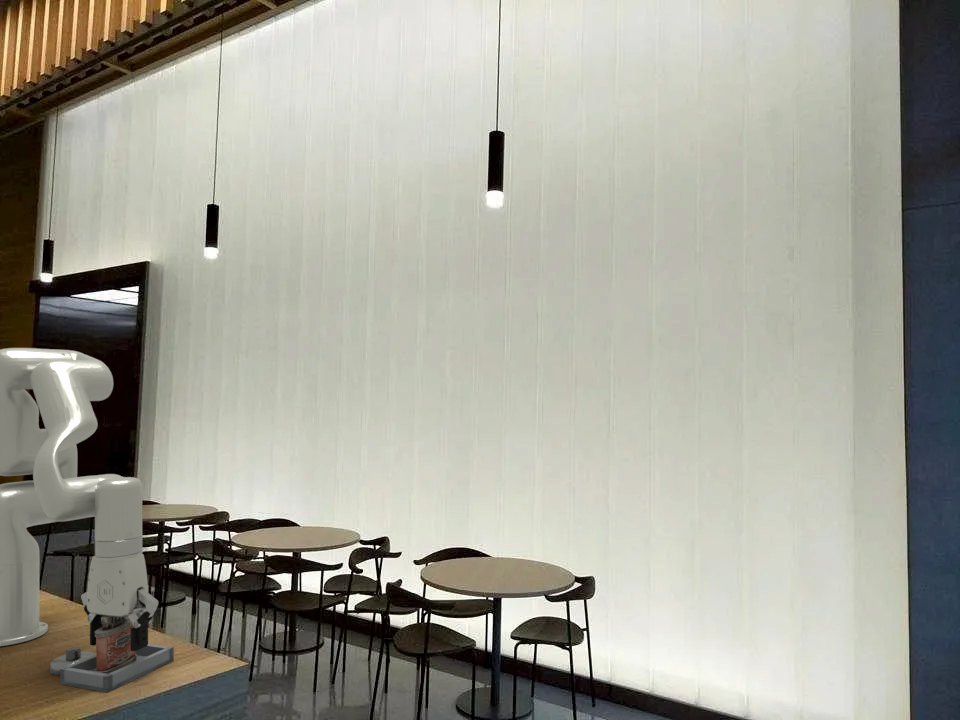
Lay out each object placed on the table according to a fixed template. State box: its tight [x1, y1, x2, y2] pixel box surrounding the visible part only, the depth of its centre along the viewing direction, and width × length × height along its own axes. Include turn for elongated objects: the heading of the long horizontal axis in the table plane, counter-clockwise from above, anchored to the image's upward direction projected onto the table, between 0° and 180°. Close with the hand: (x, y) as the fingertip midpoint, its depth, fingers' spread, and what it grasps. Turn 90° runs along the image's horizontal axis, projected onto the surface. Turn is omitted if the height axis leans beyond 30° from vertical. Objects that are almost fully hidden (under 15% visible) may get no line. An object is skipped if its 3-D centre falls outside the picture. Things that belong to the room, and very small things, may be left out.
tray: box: [59, 643, 175, 693], centre depth 121 cm, size 11×14×2 cm
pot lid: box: [49, 646, 96, 677], centre depth 124 cm, size 7×7×3 cm
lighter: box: [95, 616, 137, 674], centre depth 121 cm, size 8×3×10 cm, turn 165°
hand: (118, 645), depth 121 cm, fingers open, 9 cm apart
